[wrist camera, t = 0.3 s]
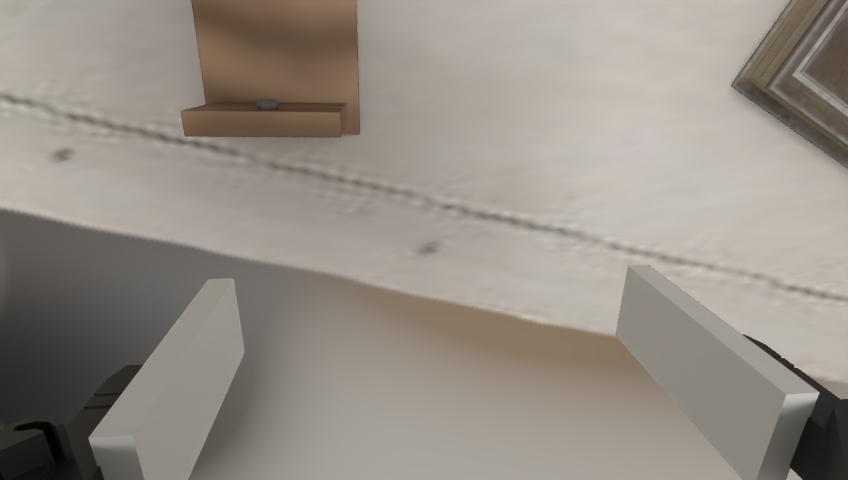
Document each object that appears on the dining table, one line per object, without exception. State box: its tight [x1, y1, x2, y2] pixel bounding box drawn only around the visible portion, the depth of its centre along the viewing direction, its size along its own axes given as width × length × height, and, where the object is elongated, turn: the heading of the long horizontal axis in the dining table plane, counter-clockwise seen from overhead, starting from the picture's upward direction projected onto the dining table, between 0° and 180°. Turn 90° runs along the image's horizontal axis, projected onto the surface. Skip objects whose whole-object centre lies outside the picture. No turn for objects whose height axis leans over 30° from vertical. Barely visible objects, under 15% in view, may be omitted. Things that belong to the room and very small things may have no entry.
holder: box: [181, 0, 360, 137], centre depth 32 cm, size 16×12×9 cm
